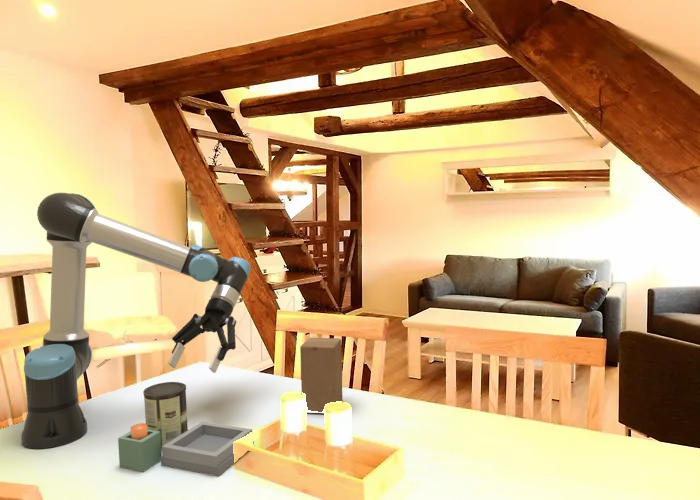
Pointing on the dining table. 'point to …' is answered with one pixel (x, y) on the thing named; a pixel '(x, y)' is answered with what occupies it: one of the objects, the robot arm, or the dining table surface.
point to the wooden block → (321, 372)
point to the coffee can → (166, 410)
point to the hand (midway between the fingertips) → (191, 368)
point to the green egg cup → (140, 451)
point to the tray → (203, 448)
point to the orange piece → (139, 431)
